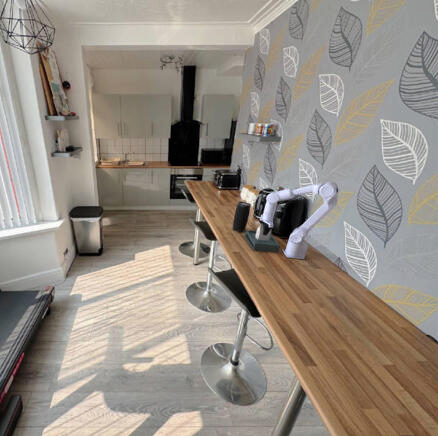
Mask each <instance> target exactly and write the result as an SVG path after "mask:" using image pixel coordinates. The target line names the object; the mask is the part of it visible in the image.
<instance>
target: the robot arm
mask: <svg viewBox="0 0 438 436" xmlns="http://www.w3.org/2000/svg"><path fill="white" fill-rule="evenodd" d="M309 193H310V194H311V193H313V194H316V195H318V194H319V195H320V196H321V197H322V200H323V203H322V204H321V205H320V206H319V207H318V208H317V209H316V211H314V212H313V214H311V216H309V217H308V218H307V219H306V220H305V222H303V224H301V225H300V226H299V227H296V228H294V229H293V231H292V232H291V233H290V235H289V238H288V241H287V243H286V247H285V249H281V252H282V253H283V254H284V255H285V256H286V258H288V259H300V260H306V258H305V256H306V254H307V251H308V247H309V245H308V242H306V241H304V239H305V237H306V236H307V235H308V234H309V232H310V231H311V230H312V229H313V228H314V227H315V226H316V225H318V224H319V223H320V222H321V221H322V220H323V219H324V218H325V217H326V216H327V215H328V214H329V213H330V212H331V211H332V210H333V209H335V208H336V206H337V205H338V199H339V193H340V189H339V187H338V184H337V183H336V182H335V181H331V180H328V181H324V182H317V183H313V184H310V185H309V184H308V185H306V186H303V187H299V188H296V189H293V188H290V187H285V188H284V189H282V190H276V191H272V192H270V193H269V194H268V195H266V198H265V200H266V202H265V205H264V210H263V213H262V214H261V215H260V218H259V220H258V222H259V225H260V224H263V235H266V236H267V234H268V233H269V231H270V230H271V231H272V229H273V228H274V226H275V225H274V217H275V215H276V210H277V206H278V202H283V201H287V200H293V199H294V198H295V196H299V195H305V194H309Z"/></svg>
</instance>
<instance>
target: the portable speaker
mask: <svg viewBox="0 0 438 436" xmlns="http://www.w3.org/2000/svg"><path fill="white" fill-rule="evenodd" d="M251 205H252V204H251V203H250V202H246V201H238V202H237V205H236V207H235V212H234V217H233V221H232V230H233V231H237V232H238V233H244V232H245V231H246V227H247V225H248V222H249V218H250V212H251Z"/></svg>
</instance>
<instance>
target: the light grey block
mask: <svg viewBox="0 0 438 436" xmlns="http://www.w3.org/2000/svg"><path fill="white" fill-rule="evenodd" d="M256 231H257V232H256V236H255V238H256V239H257V240H266V241H269V238H270V235H272V229H271V230H270V231H269V233H268V234H267V236H266V235H263V224H260V223H259V226H258V227H257V228H256Z"/></svg>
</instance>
